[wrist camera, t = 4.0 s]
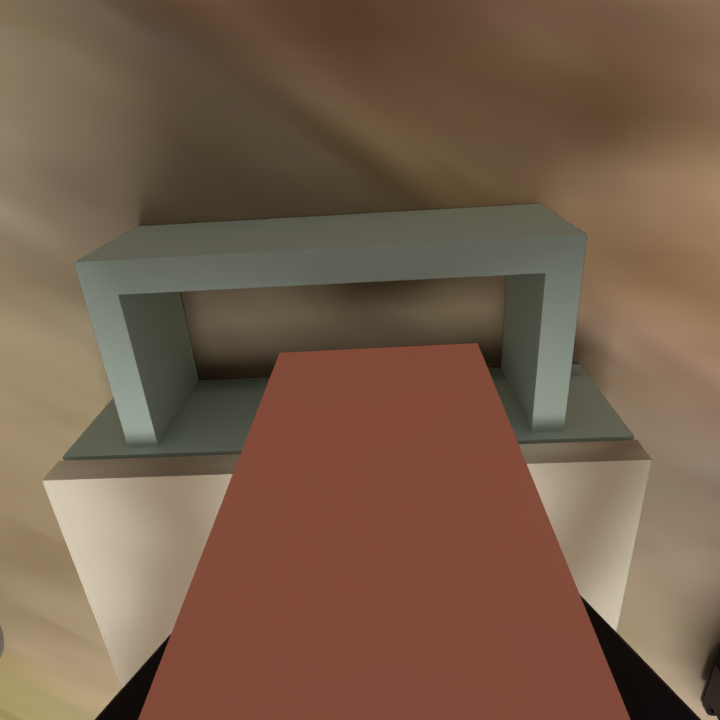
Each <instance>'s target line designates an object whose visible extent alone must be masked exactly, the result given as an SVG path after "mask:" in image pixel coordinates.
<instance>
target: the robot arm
mask: <svg viewBox="0 0 720 720" xmlns="http://www.w3.org/2000/svg"><path fill="white" fill-rule="evenodd" d="M580 597H581V599H582V601H583V604H584V606H585V609H586V611H587V614H588V616H589V619H590V621H591V624H592V626H593V629H594V631H595V634H596V636H597V638H598V641H599V643H600V646H601V648H602V651H603V653H604V656H605V658H606V661H607V663H608V666H609V668H610V670H611V673H612V675H613V678H614V680H615V683H616V685H617V688H618V690H619V693H620V695H621V698H622V700H623V702H624V705H625V707H626V710H627V712H628V715H629V717H630V720H701V719H700V718H699V717H698V716H697V715H696V714H695V713H694V712H693V711H692V710H691V709H690V708H689V707H688V706H687V705H686V704H685V703H684V702H683V701H682V699H681V698H680V697H679V696H678V695H677V694H676V693H675V692H674V691H673V690H672V689H671V688H670V687H669V686H668V685H667V684H666V683H665V682H664V681H663V680H662V679H661V678H660V677H659V676H658V675H657V674H656V673H655V672H654V671H653V669H652V668H651V667H650V666H649V665H648V664H647V663H646V662H645V661H644V660H643V659H642V658H641V657H640V656H639V655H638V654H637V653H636V652H635V651H634V650H633V649H632V648H631V647H630V646H629V645H628V644H627V643H626V642H625V641H624V639H623V638H622V637H621V636H620V635H619V634H618V633H617V632H616V631H615V630H614V629H613V628H612V627H611V626H610V625H609V624H608V623H607V622H606V621H605V620H604V619H603V618H602V617H601V616H600V615H599V614H598V613H597V612H596V611H595V609H594V608H593V607H592V606H591V605H590V604H589V603H588V602H587V601H586V600H585V599H584V598H583V597H582V596H581V595H580ZM170 636H171V634H170V635H169V636H168V637H167V638H166V639H165V641H164V642H163V643H162V644H161V645H160V646H159V647H158V648H157V650H156V651H155V652H154V653H153V654H152V655H151V656H150V658H149V659H148V660H147V661H146V662H145V663H144V664H143V665H142V667H141V668H140V669H139V670H138V671H137V672H136V673H135V675H134V676H133V677H132V678H131V679H130V680H129V681H128V682H127V684H126V685H125V686H124V687H123V688H122V689H121V690H120V692H119V693H118V694H117V695H116V696H115V697H114V698H113V699H112V701H111V702H110V703H109V704H108V705H107V706H106V707H105V709H104V710H103V711H102V712H101V713H100V714H99V715H98V716H97V718H96V719H95V720H138V719H139V716H140V714H141V711H142V708H143V706H144V703H145V701H146V698H147V695H148V693H149V690H150V688H151V685H152V682H153V680H154V677H155V675H156V672H157V669H158V667H159V664H160V662H161V659H162V656H163V654H164V651H165V649H166V646H167V644H168V641H169V638H170ZM702 705H703V707H704V709H705V711H706V713H707V714H709V715H712V716H717V718H718V720H720V651H719V654H718V657H717V660H716V663H715V666H714V669H713V672H712V675H711V678H710V681H709V684H708V687H707V690H706V693H705V696H704V699H703V702H702Z"/></svg>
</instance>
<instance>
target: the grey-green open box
mask: <svg viewBox="0 0 720 720" xmlns="http://www.w3.org/2000/svg"><path fill="white" fill-rule="evenodd" d="M586 240H587V234H585V233H584V232H582V231H581V230H579V229H578V228H576V227H575V226H573V225H572V224H570V223H569V222H567V221H566V220H564V219H563V218H561V217H560V216H558V215H557V214H555V213H554V212H552V211H551V210H549V209H548V208H546V207H545V206H543V205H542V204H540V203H539V204H522V205H504V206H486V207H469V208H451V209H434V210H416V211H398V212H381V213H363V214H345V215H328V216H310V217H292V218H275V219H257V220H240V221H222V222H204V223H187V224H169V225H151V226H138V227H136V228H134V229H132V230H130V231H129V232H127V233H125V234H123V235H122V236H120V237H118V238H116V239H114V240H113V241H111V242H109V243H107V244H106V245H104V246H102V247H100V248H98V249H97V250H95V251H93V252H91V253H90V254H88V255H86V256H84V257H82V258H81V259H79V260H77V261H75V262H74V264H75V268H76V271H77V275H78V278H79V281H80V285H81V288H82V292H83V295H84V298H85V302H86V305H87V309H88V312H89V315H90V319H91V322H92V326H93V329H94V333H95V336H96V339H97V343H98V346H99V350H100V353H101V356H102V360H103V363H104V367H105V370H106V374H107V377H108V380H109V384H110V387H111V391H112V394H113V397H114V398H113V399H112V400H111V401H110V402H109V403H108V405H107V406H106V407H105V408H104V409H103V410H102V412H101V413H100V414H99V415H98V416H97V417H96V419H95V420H94V421H93V422H92V423H91V424H90V426H89V427H88V428H87V429H86V430H85V431H84V432H83V434H82V435H81V436H80V437H79V438H78V439H77V441H76V442H75V443H74V444H73V445H72V446H71V448H70V449H69V450H68V451H67V452H66V453H65V455H64V456H63V460H64V461H67V460H95V459H123V458H151V457H178V456H206V455H234V454H241V451H242V449H243V446H244V444H245V441H246V439H247V436H248V433H249V431H250V428H251V426H252V423H253V420H254V418H255V415H256V413H257V410H258V407H259V405H260V402H261V400H262V397H263V394H264V392H265V389H266V387H267V384H268V381H269V379H270V377H263V378H239V379H216V380H199V379H198V374H197V369H196V365H195V360H194V355H193V350H192V346H191V341H190V336H189V332H188V327H187V322H186V317H185V313H184V308H183V303H182V299H181V294H180V292H182V291H202V290H222V289H242V288H261V287H281V286H301V285H321V284H340V283H360V282H380V281H400V280H419V279H439V278H459V277H478V276H498V275H507V276H506V294H505V311H504V329H503V347H502V364H501V367H497V368H488V370H489V372H490V375H491V377H492V380H493V382H494V385H495V387H496V390H497V392H498V395H499V397H500V399H501V402H502V404H503V407H504V409H505V412H506V414H507V417H508V419H509V422H510V424H511V427H512V429H513V431H514V434H515V436H516V439H517V441H518V444H539V443H567V442H595V441H623V440H634V435H633V434H632V433H631V432H630V430H629V429H628V428H627V426H626V425H625V424H624V422H623V421H622V420H621V418H620V417H619V416H618V414H617V413H616V412H615V410H614V409H613V408H612V406H611V405H610V404H609V402H608V401H607V400H606V398H605V397H604V396H603V394H602V393H601V392H600V390H599V389H598V388H597V386H596V385H595V384H594V383H593V381H592V380H591V379H590V377H589V376H588V375H587V373H586V372H585V371H584V369H583V368H582V367H581V365H580V364H572V357H573V349H574V341H575V332H576V324H577V315H578V307H579V299H580V290H581V282H582V273H583V265H584V256H585V248H586Z"/></svg>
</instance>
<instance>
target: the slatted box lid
mask: <svg viewBox="0 0 720 720" xmlns="http://www.w3.org/2000/svg"><path fill="white" fill-rule="evenodd" d="M519 446H520V449H521V451H522V454H523V456H524V459H525V461H526V464H527V466H528V468H529V471H530V473H531V476H532V478H533V481H534V483H535V486H536V488H537V491H538V493H539V496H540V498H541V500H542V503H543V505H544V508H545V510H546V513H547V515H548V518H549V520H550V523H551V525H552V528H553V530H554V533H555V535H556V537H557V540H558V542H559V545H560V547H561V550H562V552H563V555H564V557H565V560H566V562H567V565H568V567H569V569H570V572H571V574H572V577H573V579H574V582H575V584H576V587H577V589H578V592H579V594H580V595H581V596H582V597H583V598H584V599H585V600H586V601H587V602H588V603H589V604H590V605H591V606H592V607H593V608H594V609H595V611H596V612H597V613H598V614H599V615H600V616H601V617H602V618H603V619H604V620H605V621H606V622H607V623H608V624H609V625H610V626H611V627H612V628H613V629H614V630H615V631H617V626H618V621H619V616H620V611H621V606H622V602H623V597H624V592H625V587H626V582H627V577H628V573H629V568H630V563H631V558H632V553H633V548H634V544H635V539H636V534H637V529H638V524H639V519H640V515H641V510H642V505H643V500H644V495H645V490H646V486H647V481H648V476H649V471H650V466H651V461H652V459H651V458H650V457H649V455H648V454H647V453H646V451H645V450H644V449H643V447H642V446H641V445H640V443H639V442H638V441H637V440H623V441H595V442H567V443H539V444H519ZM239 457H240V454H234V455H206V456H178V457H151V458H123V459H95V460H67V461H59V462H58V463H57V464H56V465H55V466H54V467H53V469H52V470H51V471H50V472H49V473H48V474H47V476H46V477H45V478H44V479H43V480H42V482H43V484H44V487H45V489H46V492H47V494H48V497H49V500H50V502H51V505H52V507H53V510H54V513H55V515H56V518H57V520H58V523H59V526H60V528H61V531H62V533H63V536H64V538H65V541H66V544H67V546H68V549H69V551H70V554H71V557H72V559H73V562H74V564H75V567H76V569H77V572H78V575H79V577H80V580H81V582H82V585H83V588H84V590H85V593H86V595H87V598H88V600H89V603H90V606H91V608H92V611H93V613H94V616H95V619H96V621H97V624H98V626H99V629H100V632H101V634H102V637H103V639H104V642H105V644H106V647H107V650H108V652H109V655H110V657H111V660H112V663H113V665H114V668H115V670H116V673H117V675H118V678H119V681H120V683H121V686H122V688H123V687H124V686H125V685H126V684H127V682H128V681H129V680H130V679H131V678H132V677H133V676H134V675H135V673H136V672H137V671H138V670H139V669H140V668H141V667H142V665H143V664H144V663H145V662H146V661H147V660H148V659H149V658H150V656H151V655H152V654H153V653H154V652H155V651H156V650H157V648H158V647H159V646H160V645H161V644H162V643H163V642H164V641H165V639H166V638H167V637H168V636H169V635H170V634H171V633H172V631H173V628H174V625H175V623H176V620H177V618H178V615H179V612H180V610H181V607H182V605H183V602H184V599H185V597H186V594H187V592H188V589H189V586H190V584H191V581H192V579H193V576H194V573H195V571H196V568H197V566H198V563H199V560H200V558H201V555H202V553H203V550H204V547H205V545H206V542H207V540H208V537H209V535H210V532H211V529H212V527H213V524H214V522H215V519H216V516H217V514H218V511H219V509H220V506H221V503H222V501H223V498H224V496H225V493H226V490H227V488H228V485H229V483H230V480H231V477H232V475H233V472H234V470H235V467H236V464H237V462H238V459H239Z"/></svg>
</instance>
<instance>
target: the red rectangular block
mask: <svg viewBox="0 0 720 720" xmlns="http://www.w3.org/2000/svg"><path fill="white" fill-rule="evenodd" d="M138 720H630V717H629V715H628V712H627V710H626V707H625V705H624V702H623V700H622V698H621V695H620V693H619V690H618V688H617V685H616V683H615V680H614V678H613V675H612V673H611V670H610V668H609V666H608V663H607V661H606V658H605V656H604V653H603V651H602V648H601V646H600V643H599V641H598V638H597V636H596V634H595V631H594V629H593V626H592V624H591V621H590V619H589V616H588V614H587V611H586V609H585V606H584V604H583V601H582V599H581V597H580V594H579V592H578V589H577V587H576V584H575V582H574V579H573V577H572V574H571V572H570V569H569V567H568V565H567V562H566V560H565V557H564V555H563V552H562V550H561V547H560V545H559V542H558V540H557V537H556V535H555V533H554V530H553V528H552V525H551V523H550V520H549V518H548V515H547V513H546V510H545V508H544V505H543V503H542V500H541V498H540V496H539V493H538V491H537V488H536V486H535V483H534V481H533V478H532V476H531V473H530V471H529V468H528V466H527V464H526V461H525V459H524V456H523V454H522V451H521V449H520V446H519V444H518V441H517V439H516V436H515V434H514V431H513V429H512V427H511V424H510V422H509V419H508V417H507V414H506V412H505V409H504V407H503V404H502V402H501V399H500V397H499V395H498V392H497V390H496V387H495V385H494V382H493V380H492V377H491V375H490V372H489V370H488V367H487V365H486V363H485V360H484V358H483V355H482V353H481V350H480V348H479V345H478V343H469V344H448V345H428V346H407V347H387V348H366V349H346V350H325V351H304V352H284V353H279V355H278V358H277V361H276V363H275V366H274V368H273V371H272V374H271V376H270V379H269V381H268V384H267V387H266V389H265V392H264V394H263V397H262V400H261V402H260V405H259V407H258V410H257V413H256V415H255V418H254V420H253V423H252V426H251V428H250V431H249V433H248V436H247V439H246V441H245V444H244V446H243V449H242V451H241V454H240V457H239V459H238V462H237V464H236V467H235V470H234V472H233V475H232V477H231V480H230V483H229V485H228V488H227V490H226V493H225V496H224V498H223V501H222V503H221V506H220V509H219V511H218V514H217V516H216V519H215V522H214V524H213V527H212V529H211V532H210V535H209V537H208V540H207V542H206V545H205V547H204V550H203V553H202V555H201V558H200V560H199V563H198V566H197V568H196V571H195V573H194V576H193V579H192V581H191V584H190V586H189V589H188V592H187V594H186V597H185V599H184V602H183V605H182V607H181V610H180V612H179V615H178V618H177V620H176V623H175V625H174V628H173V631H172V633H171V636H170V638H169V641H168V644H167V646H166V649H165V651H164V654H163V656H162V659H161V662H160V664H159V667H158V669H157V672H156V675H155V677H154V680H153V682H152V685H151V688H150V690H149V693H148V695H147V698H146V701H145V703H144V706H143V708H142V711H141V714H140V716H139V719H138Z"/></svg>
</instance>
